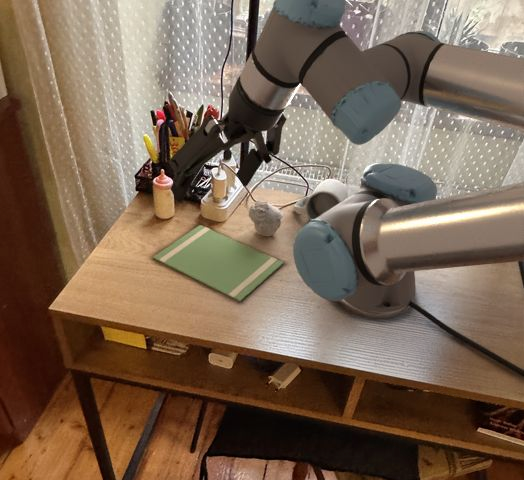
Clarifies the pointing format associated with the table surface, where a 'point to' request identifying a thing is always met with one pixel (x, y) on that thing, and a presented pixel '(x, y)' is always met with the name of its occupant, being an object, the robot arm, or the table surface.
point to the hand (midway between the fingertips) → (210, 187)
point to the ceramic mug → (322, 198)
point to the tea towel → (219, 262)
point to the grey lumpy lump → (265, 218)
